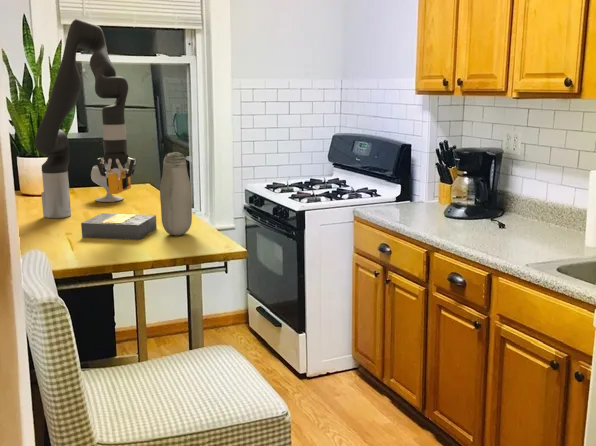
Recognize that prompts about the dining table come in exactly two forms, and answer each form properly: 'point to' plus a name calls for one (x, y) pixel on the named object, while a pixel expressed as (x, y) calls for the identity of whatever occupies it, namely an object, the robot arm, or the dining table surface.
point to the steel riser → (119, 226)
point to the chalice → (104, 184)
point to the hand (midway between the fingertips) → (118, 188)
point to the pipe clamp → (117, 183)
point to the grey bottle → (175, 195)
